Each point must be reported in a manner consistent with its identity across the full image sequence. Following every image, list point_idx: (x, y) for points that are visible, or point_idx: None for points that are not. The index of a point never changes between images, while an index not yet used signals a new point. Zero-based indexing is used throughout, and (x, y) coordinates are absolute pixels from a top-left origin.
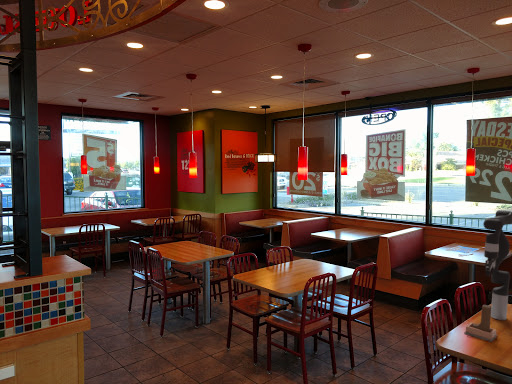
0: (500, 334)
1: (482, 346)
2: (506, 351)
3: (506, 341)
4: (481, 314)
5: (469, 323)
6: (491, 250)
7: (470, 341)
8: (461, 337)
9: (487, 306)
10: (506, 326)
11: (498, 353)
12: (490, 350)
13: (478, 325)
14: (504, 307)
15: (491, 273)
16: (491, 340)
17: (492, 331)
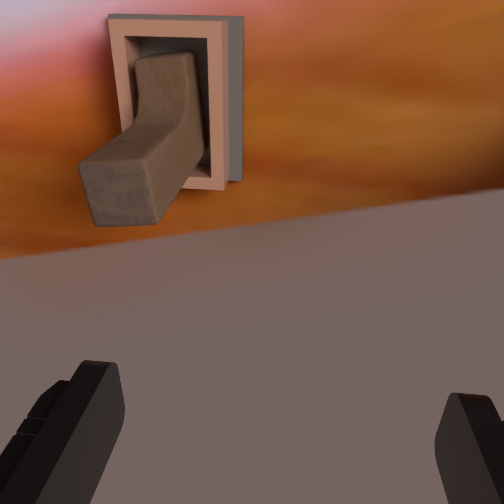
0: (286, 187)
1: (33, 150)
2: (85, 244)
3: (207, 226)
4: (111, 140)
5: (186, 21)
6: None
7: (33, 82)
8: (37, 19)
9: (114, 202)
10: (457, 190)
11: (29, 222)
12: (25, 189)
13: (138, 103)
14: None
15: (445, 426)
16: None
17: None
